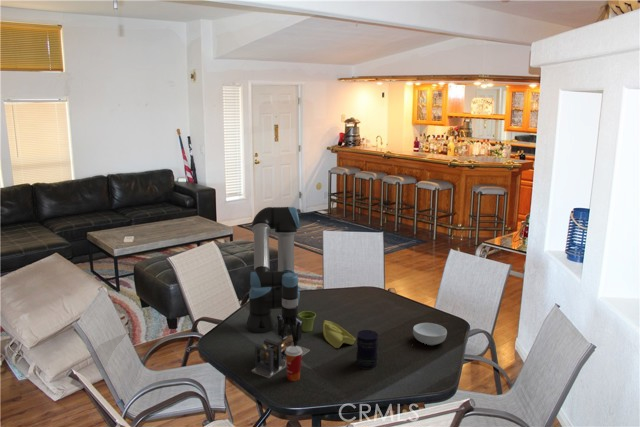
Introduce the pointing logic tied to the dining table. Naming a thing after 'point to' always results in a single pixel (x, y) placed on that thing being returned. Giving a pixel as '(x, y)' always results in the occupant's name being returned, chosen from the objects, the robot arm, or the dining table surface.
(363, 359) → the storage jar
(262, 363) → the rail
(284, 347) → the copper tube
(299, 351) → the paper cup
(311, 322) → the plant pot
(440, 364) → the dining table surface
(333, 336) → the plastic component
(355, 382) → the dining table surface
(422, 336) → the cereal bowl
